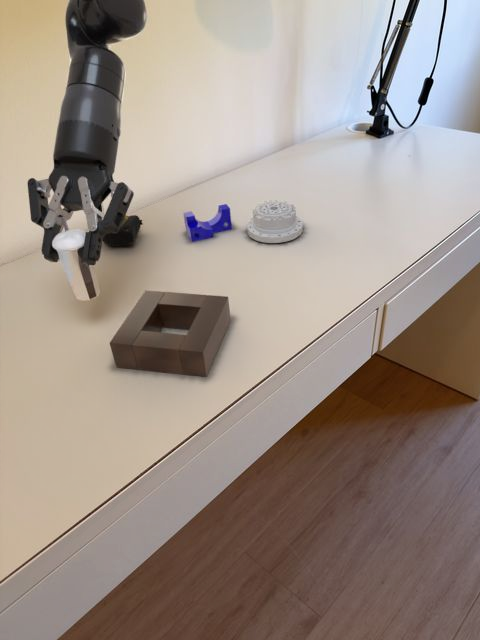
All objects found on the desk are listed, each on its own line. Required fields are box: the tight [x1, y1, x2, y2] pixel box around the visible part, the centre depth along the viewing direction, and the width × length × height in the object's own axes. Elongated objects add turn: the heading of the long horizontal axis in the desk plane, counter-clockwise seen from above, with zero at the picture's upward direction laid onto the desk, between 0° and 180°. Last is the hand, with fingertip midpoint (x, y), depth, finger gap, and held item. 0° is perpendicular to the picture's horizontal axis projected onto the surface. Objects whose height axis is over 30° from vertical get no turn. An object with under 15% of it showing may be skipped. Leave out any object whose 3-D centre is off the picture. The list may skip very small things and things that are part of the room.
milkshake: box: [52, 217, 101, 302], centre depth 68 cm, size 4×5×10 cm
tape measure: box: [102, 214, 144, 247], centre depth 93 cm, size 7×7×4 cm
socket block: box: [109, 289, 232, 378], centre depth 69 cm, size 12×12×4 cm
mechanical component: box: [246, 199, 304, 244], centre depth 93 cm, size 10×4×10 cm
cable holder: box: [183, 203, 233, 243], centre depth 94 cm, size 8×4×4 cm, turn 112°
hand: (69, 261), depth 66 cm, fingers closed on milkshake, 4 cm apart
